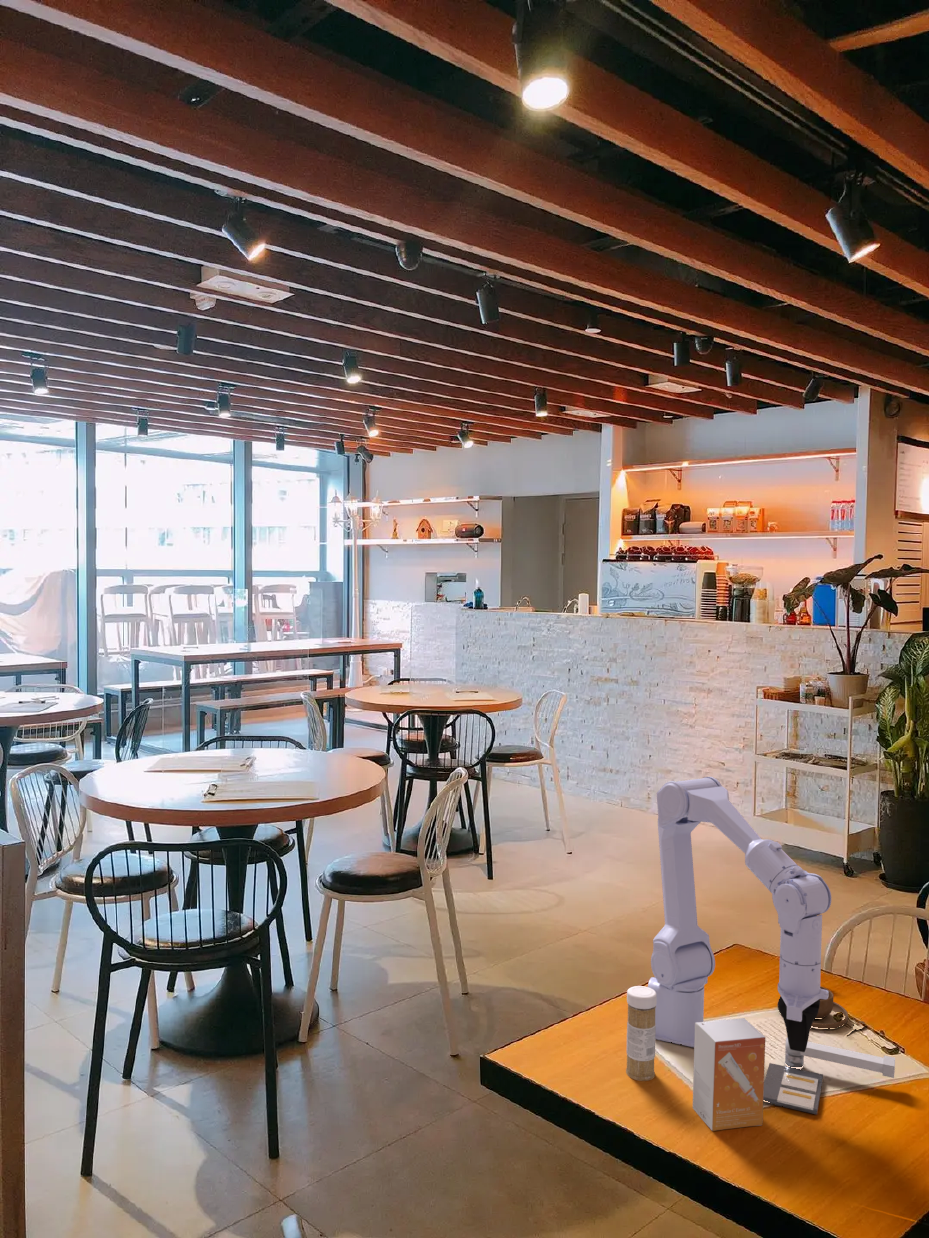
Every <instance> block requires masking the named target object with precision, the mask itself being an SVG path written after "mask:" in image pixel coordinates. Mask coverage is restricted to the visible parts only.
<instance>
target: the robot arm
mask: <svg viewBox="0 0 929 1238" xmlns="http://www.w3.org/2000/svg"><path fill="white" fill-rule="evenodd" d="M656 804H657V815H658V816H657V834H658V843H659V845H658V847H659V858H660V862H659V863H660V873H661V874H660V875H661V885H662V886H661V887H662V899H663V902H662V903H663V912H664V916H663V917H664V926H663V927H662V928H661V929H660V931H658V932H657V934H656V935H655V936H654V938H653V940H652V944H653V946H652V949H653V950H652V954H651V957H650V966H651V967H650V968H651V971H652V974H653V976H654V977H653V976H651V977H650V978H649V980H648V984H647V987H649V988H651V989H653V990H654V991H655V992H656V994H657V1004H656V1008H655V1024H656V1033H655V1040H658V1041H662V1042H668V1043H671V1042H672V1043H673V1044H675V1045H680V1044H682V1045H681V1046H685V1047H690V1048H694V1043H695V1023H696V1022H704V1011H705V1010H704V1007H705V985H706V984H708V977H710V976H712V975H713V973H714V971H715V968H716V960H715V959H716V958H715V955H714V952H713V950H712V947H711V943H710V935H709V933H707V932H706V931H705V930H704V929H702V928H701V927H700V926H699V924H698V913H697V900H696V888H695V887H696V886H695V884H696V883H695V873H694V859H693V858H694V857H693V848H692V833H693V831H694V830H695V829H696V828H697V827H698V826H699V824H701V822H702V823H710V824H712V825H713V826H714V827H716V829H717V830H719V831H720V832H721V833H722V834H723V835H724V836H725V837H727V839H728V840H730V841H731V842H732V843H733V844H734V845H735V846H736V847H737V848H738V849H740V851H742V853H744V863H745V866H746V867H747V868H748V869H749V871H750V872H752V874H753V875H754V876H755V877H756V878H757V879H758V880H759V881H760V883H762V885H764V887H765V888H766V889H767V890H768V891H769V892H770V893H771V896H772V897H771V899H772V903H773V906H774V909H775V910H776V913H777V923H778V924H779V928H780V939H779V940H780V942H779V947H780V948H779V974H778V975H779V979H778V980H779V982H778V983H777V991H778V993H779V995H780V997H779V999H778V1001H777V1004H778V1006H777V1010H778V1009H779V1011H780V1013H781V1014H780V1013H779V1014H780V1016H781V1015H782V1016H781V1017H782V1020H783V1021H784V1026H785V1029H786V1036H787V1037H788V1042H789V1047H790V1049H791V1050H795V1051H800V1052H805V1050H806V1047H807V1042H809V1036H810V1031H811V1029H810V1028H811V1025H812V1023H814V1021H815V1020H814V1019H815V1018H816V1016H817V1014H818V1011H819V1006H820V1000H819V999H828V996H829V992H828V991H827V990H824V989H821V988H820V986H821V976H822V975H821V969H822V939H823V938H822V935H823V914H824V913H826V912H828V910H830V907H831V904H832V892H831V890H830V888H829V886H828V884H827V883H826V881H825V880H824V878H823V877H822V876H820V874H816V873H814V872H813V873H811V872H808V871H807V870H806V869H805V870H804V869H803V868H802V867H801V866H800V865H798V864H797V863H796V862H795V861H794V860H793V859H792V858H791V857H790V856H789V855H788V854H787V853H786V852H785V851H784V850H783V849H782V848H783V846H782V845H781V843H780V842H778V841H774V840H772V839H771V838H770V839H769V838H768V839H767V838H765V839H762V838H761V836H760V835H759V834H758V833H757V832H756V831H755V829H754V828H753V827H752V826H751V824H750V823H749V822H748V821H747V820H746V819H745V817H744V816H743V815H742V814H741V813H740V812H739V810H738V809H737V807H735V806H734V804H733V803H732V802H731V801H730V794H729V791H728V789H727V788H726V787H724V786H723V785H722V783H721V782H720V780H718V779H717V778H715V777H713V776H704V777H702V778H694V779H686V780H677V781H675V780H671V781H667V782H665V783H664V784H663V785H662V786H661V788H660V789H659V790H658V791H657V792H656ZM779 1011H778V1012H779ZM787 1037H786V1038H787Z"/></svg>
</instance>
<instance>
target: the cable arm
mask: <svg viewBox="0 0 929 1238" xmlns="http://www.w3.org/2000/svg"><path fill="white" fill-rule="evenodd" d="M785 1051H786V1052H787V1053H788V1054H790V1055H794V1056H801V1055H803V1056H804V1057H809V1058H813V1059H817V1060H822V1061H826V1062H832V1063H837V1064H839V1065H845V1066H848V1067H855V1068H857V1069H862V1070H867V1071H871V1072H876V1073H879V1074H882V1076H883V1077H887V1078H890V1079H891V1078H893V1079H894V1078H895V1072H896V1070H895V1069H896V1057H894V1056H893V1057H892V1056H889V1055H883V1057H881V1056H877V1055H872V1054H869V1053H863V1052H858V1051H854V1050H849V1049H844V1048H839V1047H835V1046H831V1045H826V1044H821V1043H817V1042H812V1041H808V1042H807V1047H806V1050H805V1052H800V1051H795V1050H791V1049H790V1047H789V1042H788V1037H786V1038H785Z"/></svg>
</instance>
